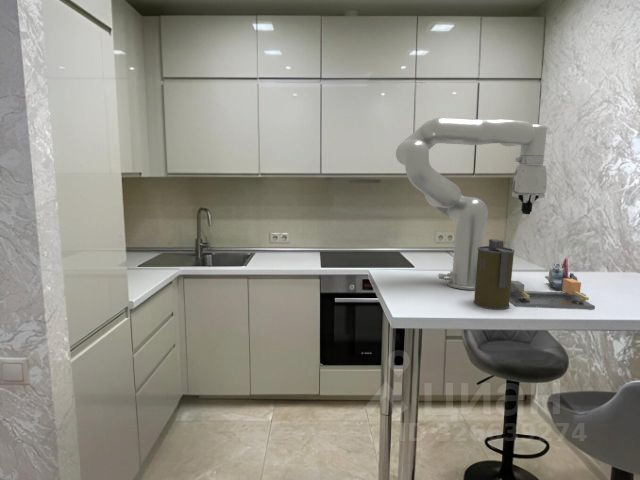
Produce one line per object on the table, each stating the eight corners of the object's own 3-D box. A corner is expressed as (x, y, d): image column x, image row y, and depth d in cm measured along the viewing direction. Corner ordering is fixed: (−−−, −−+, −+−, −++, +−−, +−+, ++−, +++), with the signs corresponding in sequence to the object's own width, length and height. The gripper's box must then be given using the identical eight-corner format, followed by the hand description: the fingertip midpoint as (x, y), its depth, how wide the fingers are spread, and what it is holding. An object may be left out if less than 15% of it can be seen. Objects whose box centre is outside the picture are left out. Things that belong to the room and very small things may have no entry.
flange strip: (516, 306, 129) (516, 302, 129) (508, 300, 135) (509, 297, 135) (594, 309, 128) (595, 305, 128) (583, 303, 134) (584, 299, 134)
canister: (467, 299, 136) (472, 237, 133) (499, 299, 137) (504, 237, 133) (483, 310, 125) (488, 243, 122) (517, 310, 126) (523, 243, 123)
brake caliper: (589, 287, 144) (568, 258, 145) (558, 303, 148) (538, 274, 149) (581, 280, 155) (561, 252, 156) (552, 295, 158) (533, 268, 159)
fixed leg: (522, 301, 130) (523, 290, 129) (508, 291, 141) (508, 280, 141) (532, 302, 129) (533, 290, 129) (517, 291, 141) (518, 280, 141)
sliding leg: (581, 303, 128) (583, 288, 128) (561, 292, 140) (563, 278, 140) (591, 304, 128) (593, 288, 128) (571, 293, 140) (572, 278, 139)
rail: (508, 298, 138) (509, 292, 138) (506, 296, 140) (506, 290, 140) (585, 300, 136) (586, 294, 136) (581, 298, 139) (582, 292, 139)
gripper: (512, 160, 145) (507, 214, 148) (558, 161, 143) (552, 215, 146) (505, 161, 153) (501, 212, 155) (549, 162, 151) (544, 213, 154)
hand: (526, 213), depth 151 cm, fingers closed
